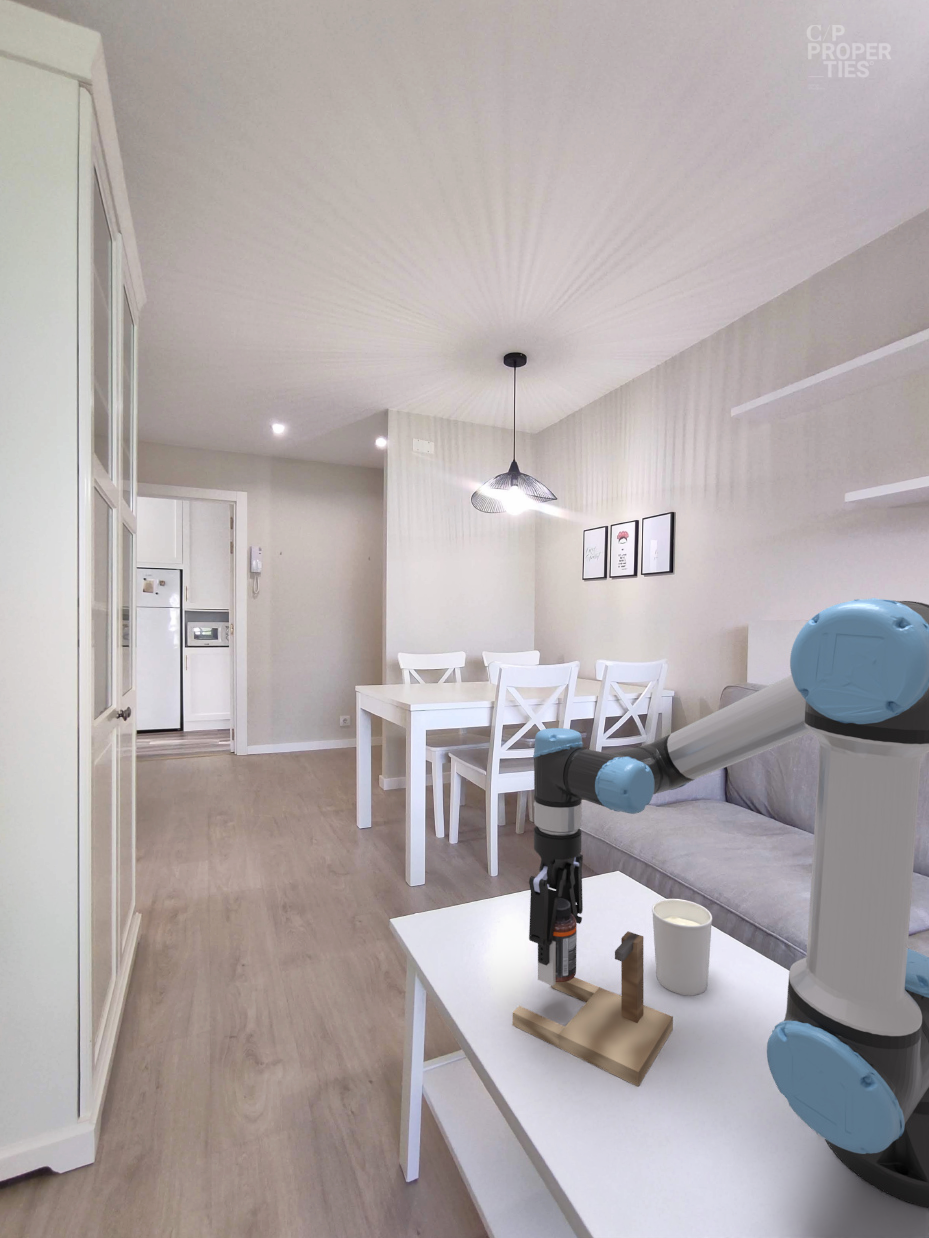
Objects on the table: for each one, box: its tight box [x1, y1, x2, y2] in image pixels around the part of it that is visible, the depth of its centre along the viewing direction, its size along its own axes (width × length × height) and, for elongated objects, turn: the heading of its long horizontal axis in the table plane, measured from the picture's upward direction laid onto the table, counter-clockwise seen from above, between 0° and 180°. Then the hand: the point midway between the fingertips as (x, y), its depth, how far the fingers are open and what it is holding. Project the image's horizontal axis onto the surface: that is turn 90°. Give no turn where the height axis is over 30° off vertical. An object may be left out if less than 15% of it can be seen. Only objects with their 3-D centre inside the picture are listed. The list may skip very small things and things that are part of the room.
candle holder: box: [651, 898, 713, 996], centre depth 104 cm, size 10×10×12 cm
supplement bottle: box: [552, 898, 578, 982], centre depth 95 cm, size 6×6×11 cm
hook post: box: [614, 931, 644, 1023], centre depth 90 cm, size 2×6×12 cm, turn 143°
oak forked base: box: [512, 976, 674, 1087], centre depth 92 cm, size 20×14×2 cm
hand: (556, 971), depth 96 cm, fingers closed on supplement bottle, 6 cm apart
